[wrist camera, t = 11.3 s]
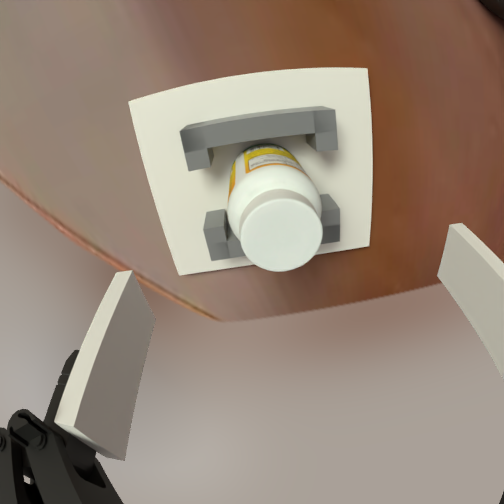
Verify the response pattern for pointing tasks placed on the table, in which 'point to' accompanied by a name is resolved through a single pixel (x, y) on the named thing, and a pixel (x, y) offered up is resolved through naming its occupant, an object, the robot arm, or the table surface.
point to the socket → (249, 133)
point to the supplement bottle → (274, 208)
